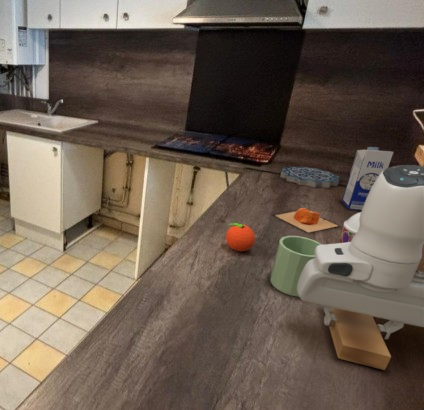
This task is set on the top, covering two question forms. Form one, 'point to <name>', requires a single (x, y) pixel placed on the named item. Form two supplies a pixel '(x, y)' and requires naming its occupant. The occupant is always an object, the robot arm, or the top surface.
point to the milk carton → (364, 175)
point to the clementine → (240, 237)
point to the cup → (291, 262)
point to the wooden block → (359, 339)
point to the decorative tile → (310, 176)
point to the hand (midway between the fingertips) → (353, 330)
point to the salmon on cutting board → (306, 220)
